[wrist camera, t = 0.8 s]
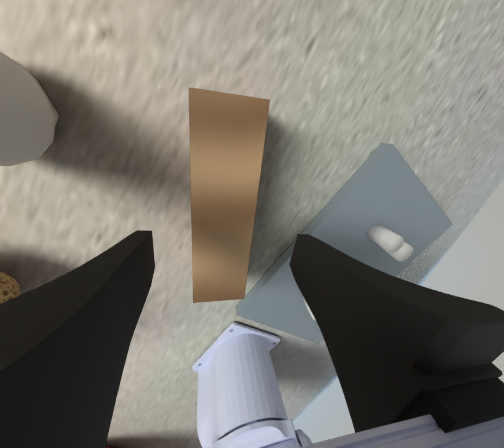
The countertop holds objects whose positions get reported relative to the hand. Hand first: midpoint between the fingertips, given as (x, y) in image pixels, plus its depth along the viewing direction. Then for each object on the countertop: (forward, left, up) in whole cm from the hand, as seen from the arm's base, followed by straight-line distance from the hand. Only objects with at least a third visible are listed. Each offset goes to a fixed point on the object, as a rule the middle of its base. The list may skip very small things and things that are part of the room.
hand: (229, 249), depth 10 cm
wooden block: (0, 0, -8) cm, 8 cm away
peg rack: (+1, -16, -8) cm, 18 cm away
